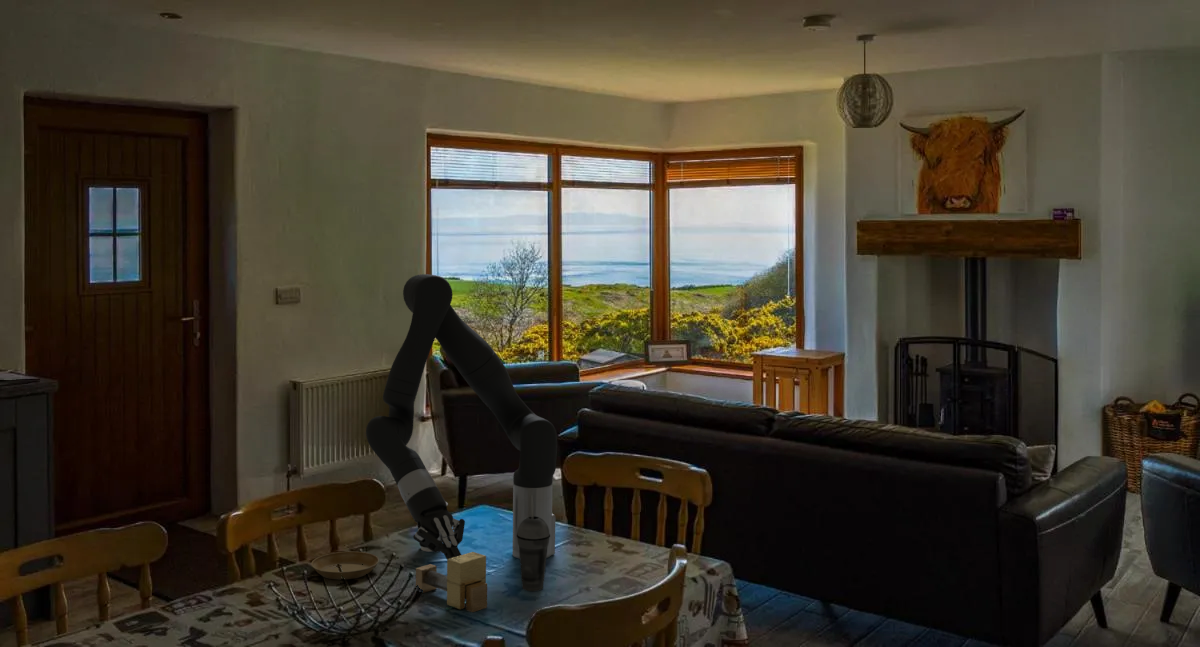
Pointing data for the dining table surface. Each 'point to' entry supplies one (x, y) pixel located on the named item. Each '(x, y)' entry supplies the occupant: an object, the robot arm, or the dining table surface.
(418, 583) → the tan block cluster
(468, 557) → the wooden block arch
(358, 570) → the plant saucer
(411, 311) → the robot arm
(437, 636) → the dining table surface
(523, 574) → the beverage cup
